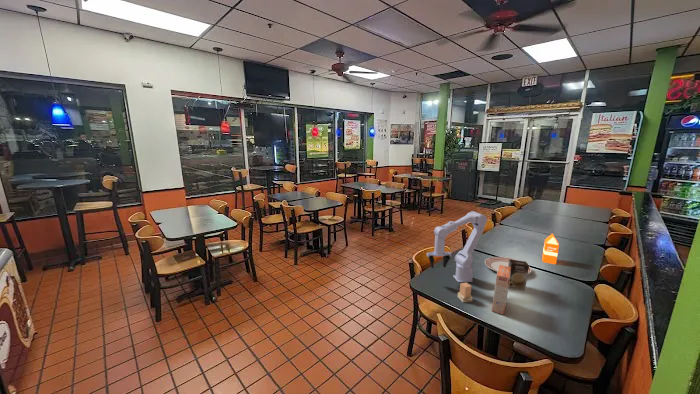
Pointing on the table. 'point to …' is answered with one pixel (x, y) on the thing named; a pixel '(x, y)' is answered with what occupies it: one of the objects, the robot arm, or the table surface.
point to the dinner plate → (499, 263)
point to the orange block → (465, 289)
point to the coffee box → (518, 274)
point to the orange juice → (550, 250)
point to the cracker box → (501, 289)
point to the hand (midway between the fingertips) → (438, 267)
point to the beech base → (465, 298)
